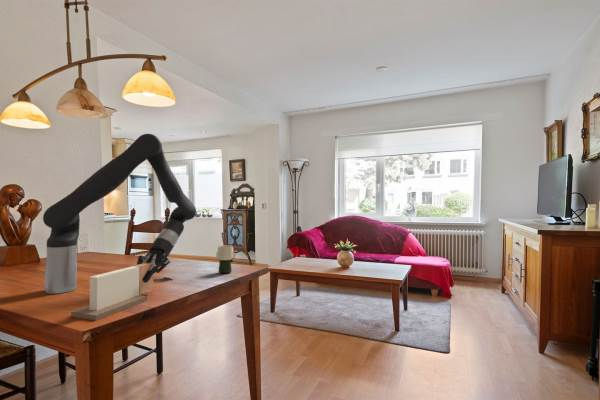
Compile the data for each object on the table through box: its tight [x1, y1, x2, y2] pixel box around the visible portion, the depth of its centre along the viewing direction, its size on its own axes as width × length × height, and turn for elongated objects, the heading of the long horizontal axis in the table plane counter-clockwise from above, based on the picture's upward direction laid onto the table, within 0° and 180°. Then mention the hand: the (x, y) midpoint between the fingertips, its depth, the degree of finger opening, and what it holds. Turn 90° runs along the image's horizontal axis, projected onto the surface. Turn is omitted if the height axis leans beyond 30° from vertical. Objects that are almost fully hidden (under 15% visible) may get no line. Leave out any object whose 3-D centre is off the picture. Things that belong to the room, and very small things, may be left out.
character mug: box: [215, 244, 235, 274], centre depth 148 cm, size 11×7×13 cm, turn 147°
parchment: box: [153, 277, 174, 286], centre depth 125 cm, size 25×10×1 cm, turn 150°
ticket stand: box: [70, 265, 148, 322], centre depth 98 cm, size 10×19×12 cm, turn 163°
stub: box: [134, 263, 154, 295], centre depth 111 cm, size 3×6×10 cm, turn 163°
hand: (140, 280), depth 109 cm, fingers closed on stub, 3 cm apart
